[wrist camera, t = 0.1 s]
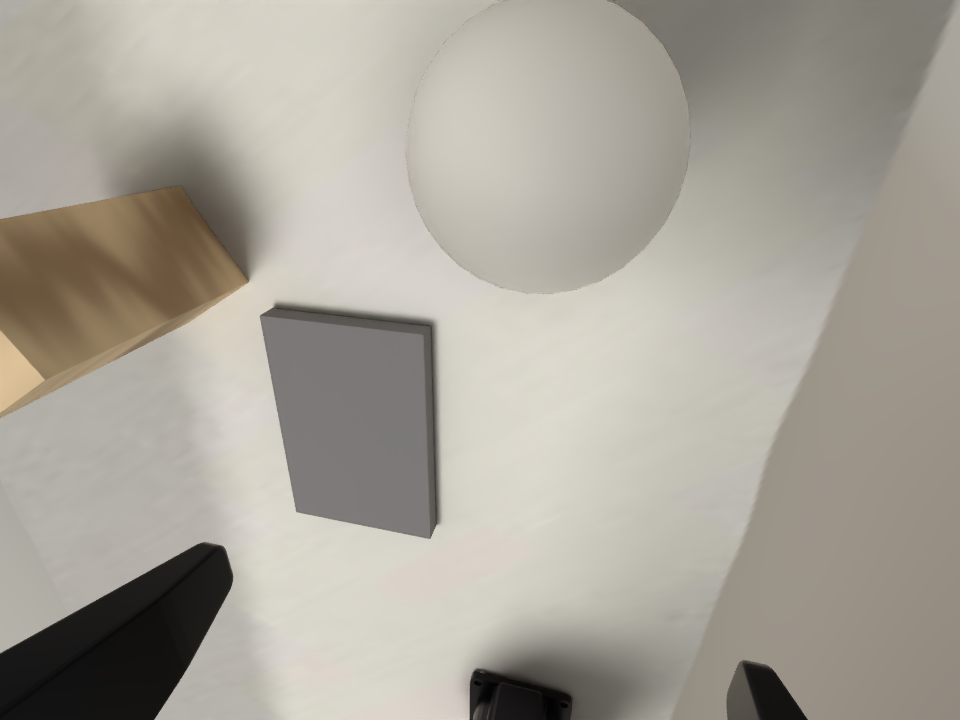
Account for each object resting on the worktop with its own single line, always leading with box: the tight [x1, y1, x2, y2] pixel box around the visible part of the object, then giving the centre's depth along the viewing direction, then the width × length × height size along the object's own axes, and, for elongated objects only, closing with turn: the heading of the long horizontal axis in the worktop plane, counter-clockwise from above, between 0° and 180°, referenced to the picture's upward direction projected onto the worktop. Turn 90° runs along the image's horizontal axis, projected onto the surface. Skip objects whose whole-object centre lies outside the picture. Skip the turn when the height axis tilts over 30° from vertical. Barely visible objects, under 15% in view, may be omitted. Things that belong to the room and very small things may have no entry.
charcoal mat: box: [260, 308, 436, 539], centre depth 26 cm, size 12×8×1 cm, turn 179°
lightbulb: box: [406, 0, 691, 294], centre depth 14 cm, size 6×6×11 cm
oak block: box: [0, 186, 249, 418], centre depth 20 cm, size 5×5×10 cm
